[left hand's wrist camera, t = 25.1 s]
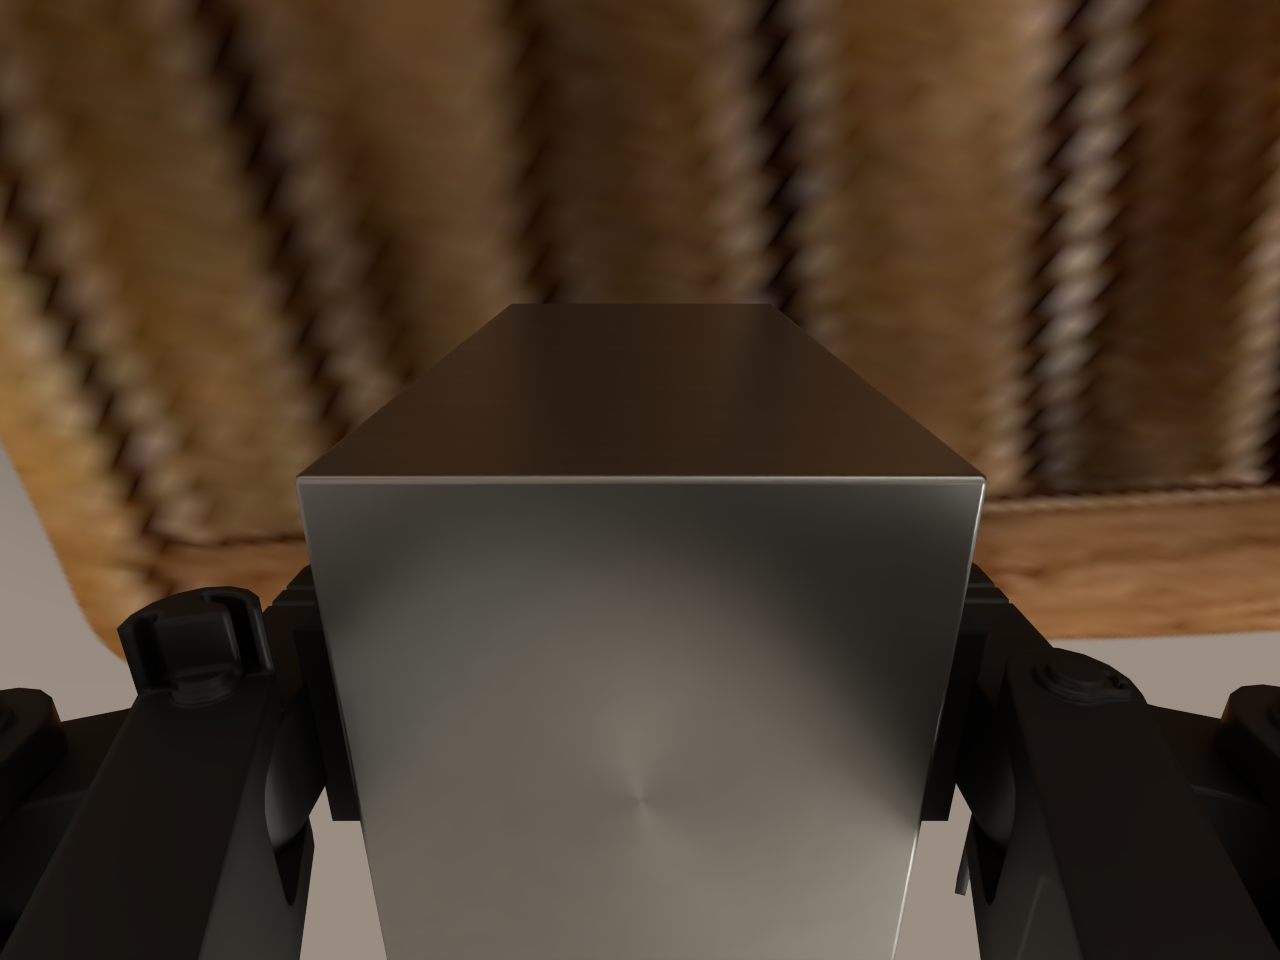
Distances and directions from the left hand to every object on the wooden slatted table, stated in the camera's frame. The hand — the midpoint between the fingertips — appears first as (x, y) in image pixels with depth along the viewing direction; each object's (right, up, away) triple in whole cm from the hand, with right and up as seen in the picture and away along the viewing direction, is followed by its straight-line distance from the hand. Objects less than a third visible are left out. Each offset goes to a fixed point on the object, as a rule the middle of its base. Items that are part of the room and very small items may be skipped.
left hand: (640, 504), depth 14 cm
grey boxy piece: (0, +1, +3) cm, 4 cm away
